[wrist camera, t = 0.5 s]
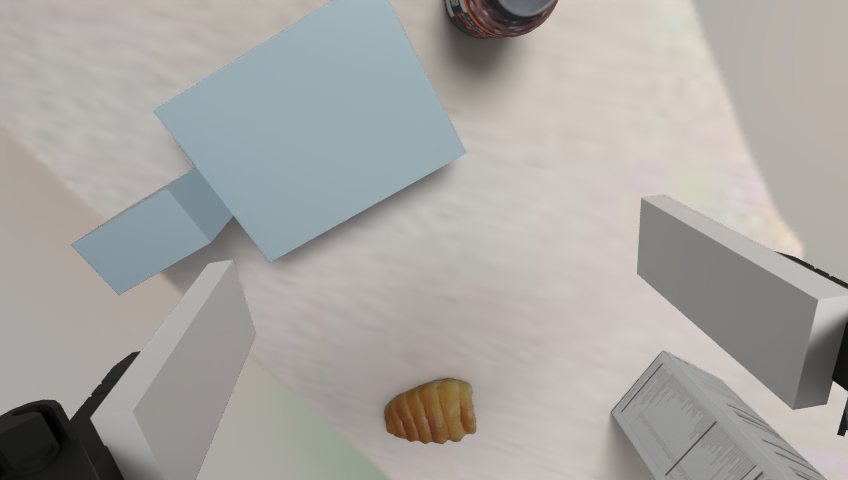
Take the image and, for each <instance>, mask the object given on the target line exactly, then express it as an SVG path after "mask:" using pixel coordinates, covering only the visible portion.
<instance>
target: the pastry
mask: <svg viewBox="0 0 848 480" xmlns="http://www.w3.org/2000/svg"><path fill="white" fill-rule="evenodd" d="M472 393H473V391H472V386H471V385H470V384H469V383H466V382H463V381H459V380H455V379H450V378H447V379H444V380H434V381H432V382H429V383H426V384H424V385H421V386H418V387H416V388H414V389H412V390H409V391H407V392H405V393H402V394H400V395H398V396H397V397H396V398H394V399H393V400H392V401H391V402H390V403H389V404H388V405H387V407H386V409H385V421H386V428H387V431H388V432H389V433H391V434H393V435H395V436H396V437H399V438H404V439H407V440H408V441H410V442H412V441H421V442H422V443H424V444H427V443H429V442H434V443H439V444H444V443H445V442H446V441H447V440H451V441H453V442H458V441H461V439H462V438H463V437H464V436H465V434H474V433H475V432H476V418H475V414H474V411H473V404H472V397H471V396H472Z"/></svg>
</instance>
